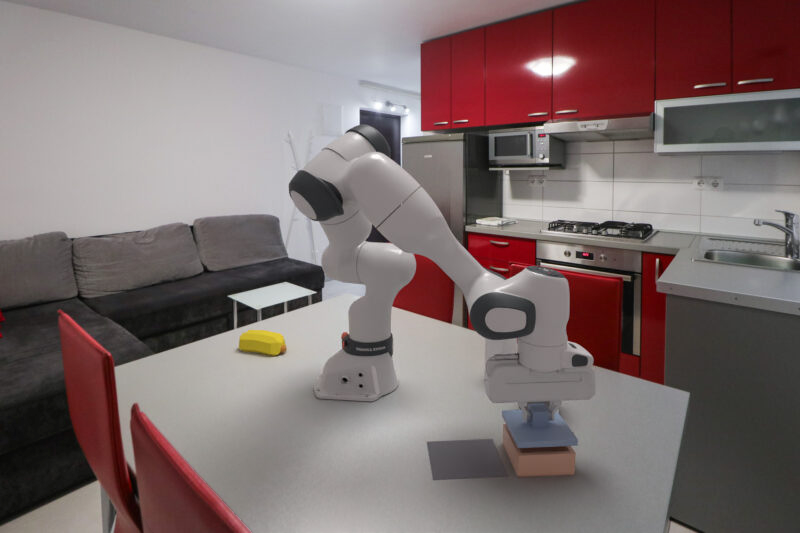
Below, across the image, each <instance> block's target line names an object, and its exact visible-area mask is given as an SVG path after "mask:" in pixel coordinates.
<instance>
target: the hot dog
mask: <svg viewBox="0 0 800 533" xmlns="http://www.w3.org/2000/svg"><path fill="white" fill-rule="evenodd" d="M238 340H239V341H238V350H240V351H242V352H243V351H245V353H257V354H263V355H266V354H267V355H266V356H271V355H272V357H276V356H278V355H279V354H283V353H285V352H286V351H287V349H288V348H287V344H286V340H285V337H284V335H283V334H281V333H279V332H275V331H269V330H265V329H249V330H247V331H246V332H242V334H241V335H240V336H239V339H238Z"/></svg>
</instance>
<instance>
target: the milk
mask: <svg viewBox="0 0 800 533" xmlns="http://www.w3.org/2000/svg"><path fill="white" fill-rule="evenodd" d="M484 339H485V340H484V342H485V344H484V380H487V373H486V362H487V360H488V359H489V358H490V357H492V356H494V355H495V354H509V353H517V342H518V338H513V339H505V340H490V339H487V338H484ZM493 359H494V358H493Z"/></svg>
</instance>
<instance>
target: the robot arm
mask: <svg viewBox="0 0 800 533" xmlns="http://www.w3.org/2000/svg"><path fill="white" fill-rule="evenodd" d="M391 158H392V154H391V149H390V145H389V143H388V141H387V140H386V138H385V136H384V135H383V134H382V133H381V132H380V131H379V130H378V129H377V128H375V127H373V126H371V125H368V124H366V123H365V124H363V123H361V124H358V125H355V126H353V127H351V128H349V129H347V130H346V131H345V132H344V134H342V135H341V136H338V138H336V139H334V140H333V141H331V142H330V143H328V144H327V145H326V146H325V147H323V148H322V149H321V151H320V152H318V154H316V155H315V156H313V157H312V159H311V160H309V162H308V163H307V164H306V165H305V166H304V167H303V168H302V169H300V170H298V171H297V172H296V173H295V175H293V177H292V178H291V180H290V181H289V183H288V195H289V196H290V199H291V200H292V202H293V205H294V206H295V208H296V209H297V210H298V211H299V212H300V213H301V214H302V215H303V216H306V217H307V218H308V220H309V219H310V220H312V221H313V222H318V223H319V224H320V226H321V228H322V230H323V231H324V233H325V236H326V238H327V240H328V243H329V244H328V245H327V246H326V247H325V249H324V250H323V252H322V254H321V259H320V261H321V262H320V264H321V269H322V271H323V273H324V275H325V276H326V277H327V278H330V279H332V280H335V281H338V282H341V283H345V284H355V285H363V286H365V293H364V295H363V296H361V297H359V298H357V299H356V300H354V301H353V302H352V303H351V304H350V305H349V306H350V307H349V308H348V312H347V316H348V332H349V333H348V332H347V331H343V332H342V334H341V337H340V339H341V349H339V351H337V352H336V353H335V354H333V355H332V356H330V357H329V358H328V359H327V360H326V362H325V364H324V366H323V368H322V369H323V370H322V373H321V374H320V375H319V376H318V377H317V378H316V379H315V382H314V386H313V393H314V396H315V397H316V398H317V399H323V400H336V401H337V400H339V401H357V402H375V401H377V400H378V399H380V398H381V397H383V396H385V395H388V394H390V393H392V392H394V391H395V390H396V389H397V387H399V380H398V378H397V374H396V370H395V366H394V365H395V364H394V360H393V358H394V357H393V355H394V336H393V333H392V310H393V305H394V301H395V299H396V296H397V295H398V294H399V292H400V291H401V290H402V289H403V288H404V287H405V286H407V285H408V284H409V283H410V282H411V281H412V280H413V278H414V276H415V274H416V270H417V261H416V257H415V255H419V256H423V257H425V258H428V259H429V260H431V261H432V262H433V263H435V264H436V265H437V266H438V267H439V268H440V269H441V270H442V271H443V272H444V273H445V274H446V275H447V276H448V277H449V278H450V279H451V280H452V281H453V282H454V283H455V284H456V285H457V286H458V287H459V288H460V291H461V292H462V294H463V297H464V300H465V304H466V306H467V310H468V311H467V312H468V317H469V320H470V323H471V326H472V328H473V330H474V331H475V332H476V333H477V334H478V335H480V336H481V337H483V338H484V339H485V338H487V339H490V340H505V339H513V338H517V351H516V353H509V354H495V355H494V356H492V357H490V358H489V359H488V360H487V362H486V373H487V380H486V382H485V394H486V397H487V398H488V399H489V401H490V402H491V403H492V404H508V403H509V404H510V403H517V405H518V407H519V406H520V408H521V410H522V419H523V421H524V422H531V421H532V419H531V418H532V413H531V412H530V410H529V409H525V408H524V407H525V406H527V402H541V401H552V403H551V405H550V406H549V408H548V411H549V421H554V420H555V413H556V412H557V411H558V409H559V410H560V408H561V406H562V402H564V401H588V400H591V399H592V398H594V396H595V395H596V387H597V384H596V372H595V369H594V368H593V367H592V366H593V365H594V361H595V360H594V356H593V355H592V354H591V353H590V352H589V351H588V350H587V349H585V348H584V347H583V346H581V345H580V344H578V343H576V342H572V341H569V340H568V338H569V337H568V335H567V324H568V321H569V319H570V307H571V306H570V304H571V303H570V301H571V300H570V286H569V281H568V279H567V278H566V276H565V275H564V274H562V273H561V272H560V271H558V270H556V269H552V268H549V267H545V266H540V265H529V266H526V267H525V268H524V269H523V270H521V271H520V272H518V273H516V274H515V275H514V276H511V277H509V278H506V277H505V276H504V275H502V274H500V273H499V272H495V271H494V270H490V269H489V268H487V267H484V266H483V265H482V264H481V263H480V262H479V261H478V260H477V259H476V258H475V257H474V256H473V255H472V254H471V253H470V252H469V251H468V250H467V249H466V247H465V246H464V245H463V244H461V242H460V241H459V240H458V239H457V238H456V237H455V235H454V234H453V232H452V230H451V229H450V226H449V225H448V222H447V221H446V219H445V217H444V215H443V213H442V212H441V210H440V209H439V206H437V203H435V201H434V200H433V198H432V197H431V196H430V194H428V191H426V189H425V188H423V187H422V186H421V184H419V182H418V181H417V180H416V179H415V178H414V177H413V176H412V175H411V174H410V173H408V171H407V170H405V169H404V168H403V167H402V166H400V164H399V163H397V162H396V161H395V160H393V159H391ZM373 226H374V228H376V230H377V231H378V232H379V233H380V234H381V235H382V236H383V237H384V238H385V239H386V240H387V241H389V242H376V241H375V242H373V241H367V239H368V238H369V237H370V234H371V233H372V229H373ZM493 358H494V359H493Z"/></svg>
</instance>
